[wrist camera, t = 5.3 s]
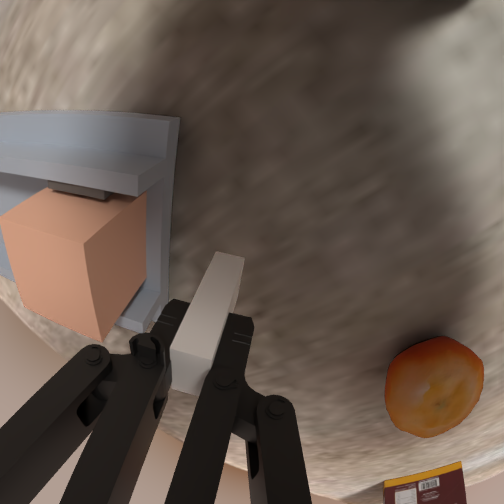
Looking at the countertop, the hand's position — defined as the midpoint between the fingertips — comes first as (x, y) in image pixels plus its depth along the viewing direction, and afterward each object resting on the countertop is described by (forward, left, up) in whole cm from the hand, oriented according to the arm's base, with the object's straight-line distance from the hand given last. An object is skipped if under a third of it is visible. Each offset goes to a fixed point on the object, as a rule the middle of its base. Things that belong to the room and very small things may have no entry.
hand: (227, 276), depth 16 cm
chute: (0, -19, -3) cm, 20 cm away
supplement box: (+41, +42, -3) cm, 59 cm away
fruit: (+6, +17, -3) cm, 18 cm away
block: (0, -8, -2) cm, 9 cm away
